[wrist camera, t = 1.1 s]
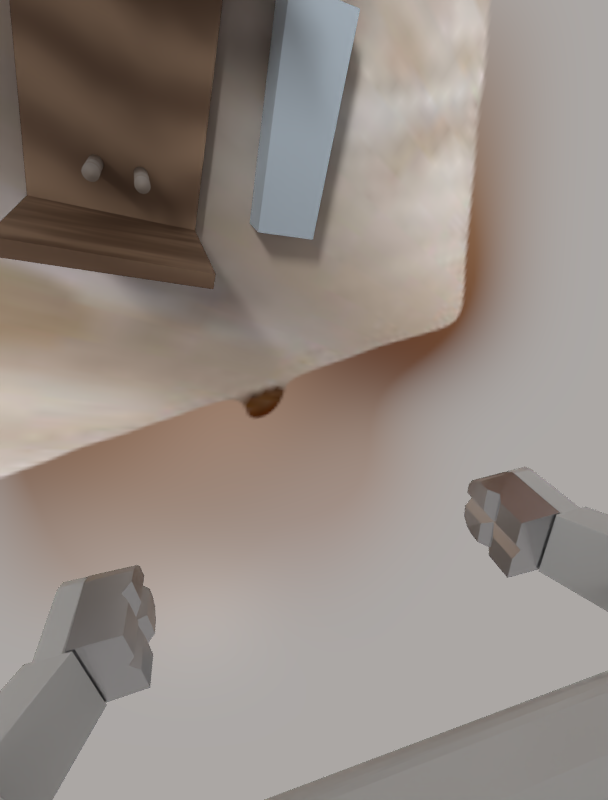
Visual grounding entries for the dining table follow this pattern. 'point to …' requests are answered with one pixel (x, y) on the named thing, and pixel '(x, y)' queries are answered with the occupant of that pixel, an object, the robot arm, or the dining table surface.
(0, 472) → the dining table surface
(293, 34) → the shelf board
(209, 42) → the shelf rack
